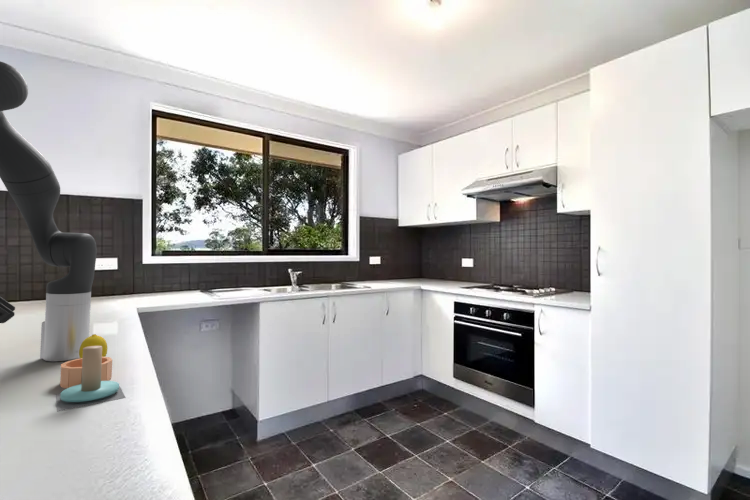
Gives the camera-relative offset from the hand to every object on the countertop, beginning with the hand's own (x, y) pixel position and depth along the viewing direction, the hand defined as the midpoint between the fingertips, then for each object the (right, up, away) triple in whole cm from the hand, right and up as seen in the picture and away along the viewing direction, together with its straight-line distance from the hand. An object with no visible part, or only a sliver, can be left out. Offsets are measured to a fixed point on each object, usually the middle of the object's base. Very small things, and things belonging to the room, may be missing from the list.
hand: (9, 315), depth 63 cm
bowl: (+1, -17, +16) cm, 23 cm away
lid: (+8, -17, +8) cm, 20 cm away
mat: (+8, -18, +8) cm, 21 cm away
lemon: (-6, -18, +27) cm, 33 cm away
